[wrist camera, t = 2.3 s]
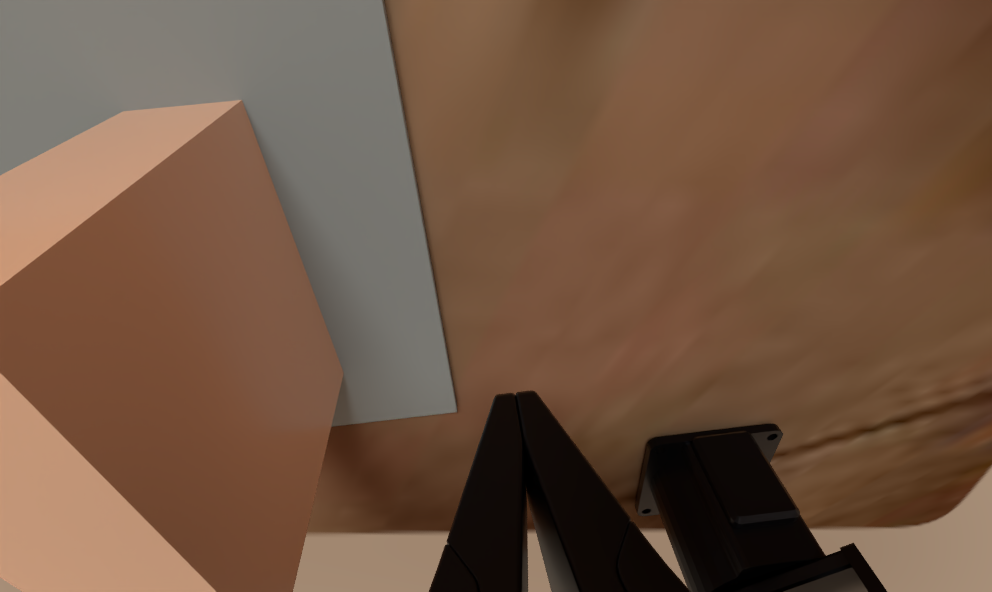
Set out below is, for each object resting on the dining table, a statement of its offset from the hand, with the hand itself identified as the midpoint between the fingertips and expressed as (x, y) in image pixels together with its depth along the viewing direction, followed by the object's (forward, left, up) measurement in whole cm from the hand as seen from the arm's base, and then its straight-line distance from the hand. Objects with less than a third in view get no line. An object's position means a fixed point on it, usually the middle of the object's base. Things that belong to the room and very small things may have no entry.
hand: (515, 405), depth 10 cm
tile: (0, +8, -7) cm, 10 cm away
